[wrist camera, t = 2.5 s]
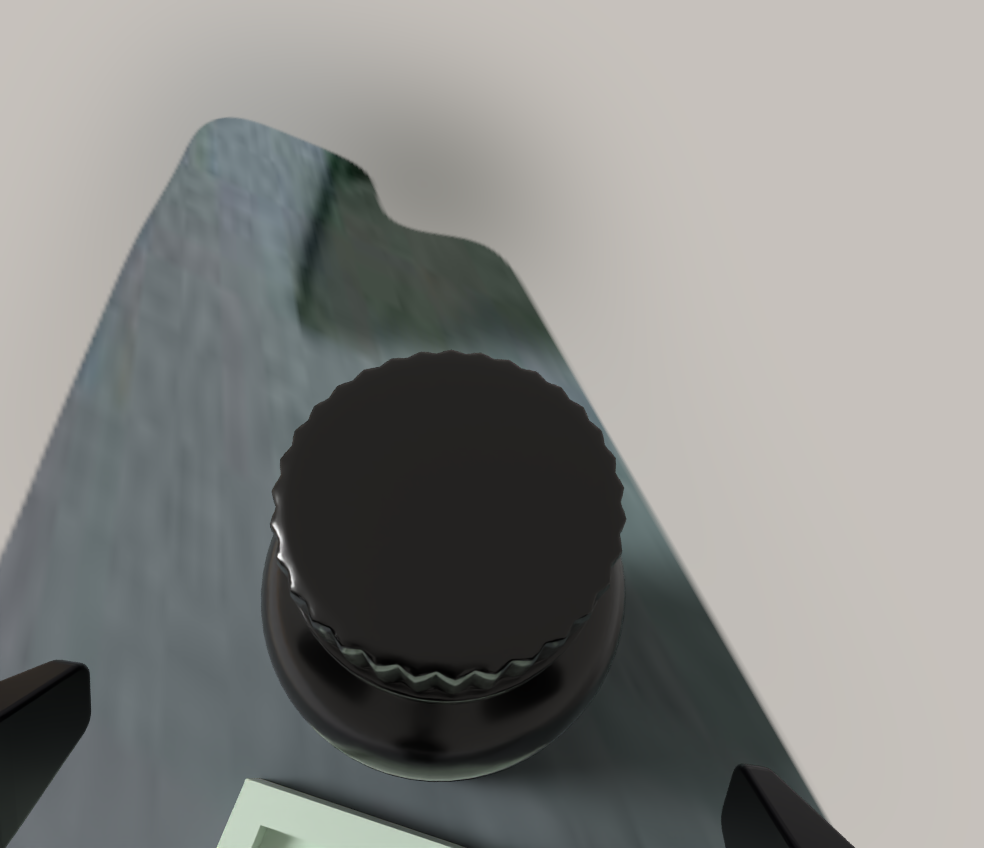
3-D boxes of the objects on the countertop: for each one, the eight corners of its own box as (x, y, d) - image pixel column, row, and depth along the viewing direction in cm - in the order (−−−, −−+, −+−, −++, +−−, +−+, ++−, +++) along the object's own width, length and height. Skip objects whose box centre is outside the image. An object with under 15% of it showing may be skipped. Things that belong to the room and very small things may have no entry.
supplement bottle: (369, 824, 15) (215, 927, 5) (309, 587, 19) (139, 360, 8) (593, 716, 17) (810, 634, 7) (504, 516, 20) (561, 255, 10)
